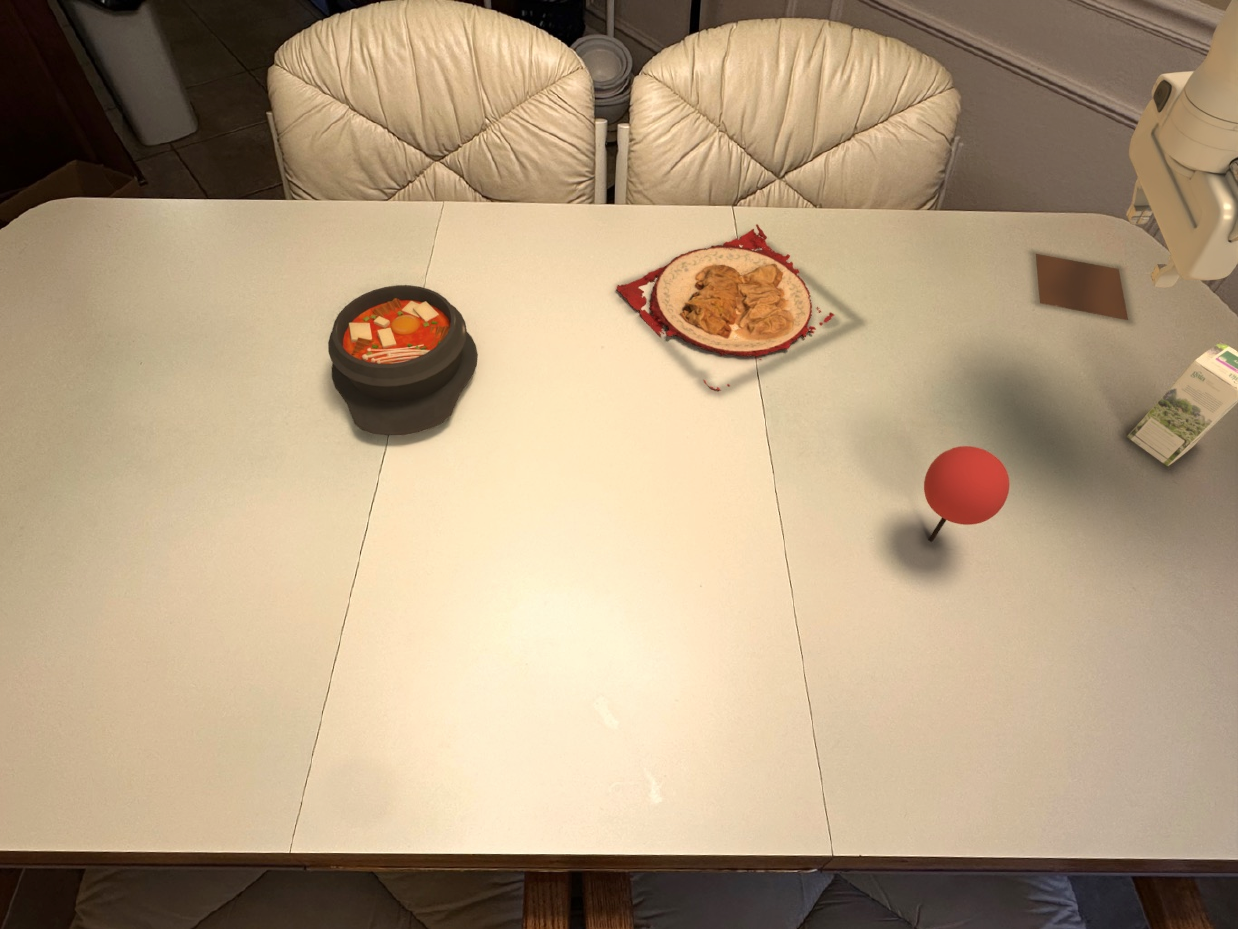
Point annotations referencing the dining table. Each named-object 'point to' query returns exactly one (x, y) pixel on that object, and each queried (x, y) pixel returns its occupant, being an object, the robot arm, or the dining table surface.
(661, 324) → the plate with food
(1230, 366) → the syrup box
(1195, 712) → the dining table surface
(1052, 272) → the stand
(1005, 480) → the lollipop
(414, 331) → the casserole
